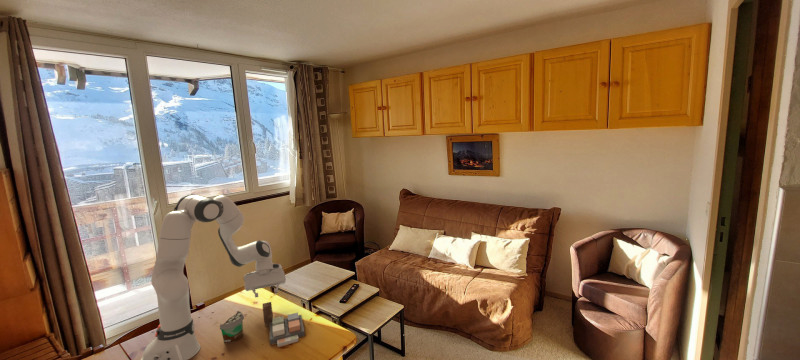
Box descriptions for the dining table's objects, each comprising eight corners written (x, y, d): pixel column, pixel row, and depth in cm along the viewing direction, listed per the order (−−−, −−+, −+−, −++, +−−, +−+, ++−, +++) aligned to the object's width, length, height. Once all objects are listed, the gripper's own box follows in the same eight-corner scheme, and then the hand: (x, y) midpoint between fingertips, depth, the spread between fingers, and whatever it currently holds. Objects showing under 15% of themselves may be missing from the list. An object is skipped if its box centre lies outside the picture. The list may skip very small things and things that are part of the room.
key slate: (288, 324, 157) (288, 320, 156) (288, 319, 161) (287, 314, 161) (299, 322, 158) (298, 317, 158) (298, 316, 163) (297, 312, 163)
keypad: (270, 348, 143) (269, 343, 143) (270, 327, 160) (269, 322, 159) (305, 339, 149) (304, 334, 148) (301, 319, 165) (301, 314, 165)
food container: (233, 346, 146) (231, 326, 145) (222, 345, 147) (219, 325, 146) (251, 330, 158) (249, 311, 157) (240, 329, 159) (237, 310, 158)
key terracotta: (289, 332, 150) (288, 327, 150) (288, 327, 155) (288, 322, 154) (300, 330, 152) (300, 325, 152) (299, 324, 157) (299, 319, 156)
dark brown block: (264, 326, 161) (262, 307, 159) (264, 322, 164) (262, 303, 163) (273, 324, 162) (271, 305, 161) (273, 320, 166) (271, 301, 164)
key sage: (273, 328, 154) (272, 323, 154) (272, 323, 159) (272, 318, 158) (284, 325, 156) (283, 321, 155) (283, 320, 160) (283, 315, 160)
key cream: (273, 337, 148) (272, 332, 147) (273, 331, 152) (272, 326, 152) (284, 334, 149) (284, 329, 149) (284, 328, 154) (283, 323, 154)
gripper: (242, 271, 170) (243, 297, 162) (284, 263, 177) (286, 288, 169) (244, 276, 174) (245, 301, 167) (284, 268, 182) (287, 292, 174)
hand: (266, 294), depth 168 cm, fingers open, 8 cm apart
